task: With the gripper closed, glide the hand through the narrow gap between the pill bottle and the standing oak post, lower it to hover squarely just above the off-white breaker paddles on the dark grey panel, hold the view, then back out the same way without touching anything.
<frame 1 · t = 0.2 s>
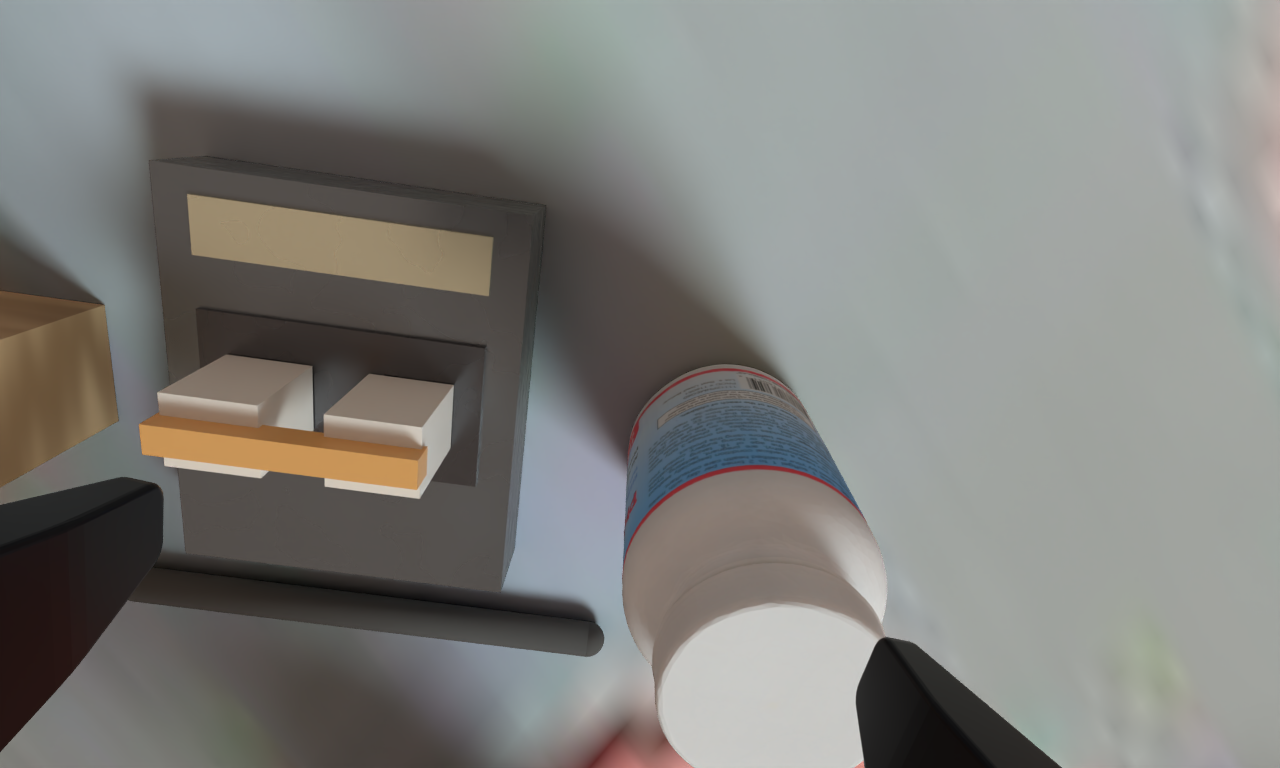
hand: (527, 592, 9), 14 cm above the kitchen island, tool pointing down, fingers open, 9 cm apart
dark gray rod: (372, 601, 26), on the kitchen island
pill bottle: (719, 443, 24), on the kitchen island
breaker paddles: (313, 427, 19), point 5 cm above the kitchen island, hinge at 0.0°
oak post: (48, 356, 23), on the kitchen island
breaker panel: (374, 371, 23), on the kitchen island
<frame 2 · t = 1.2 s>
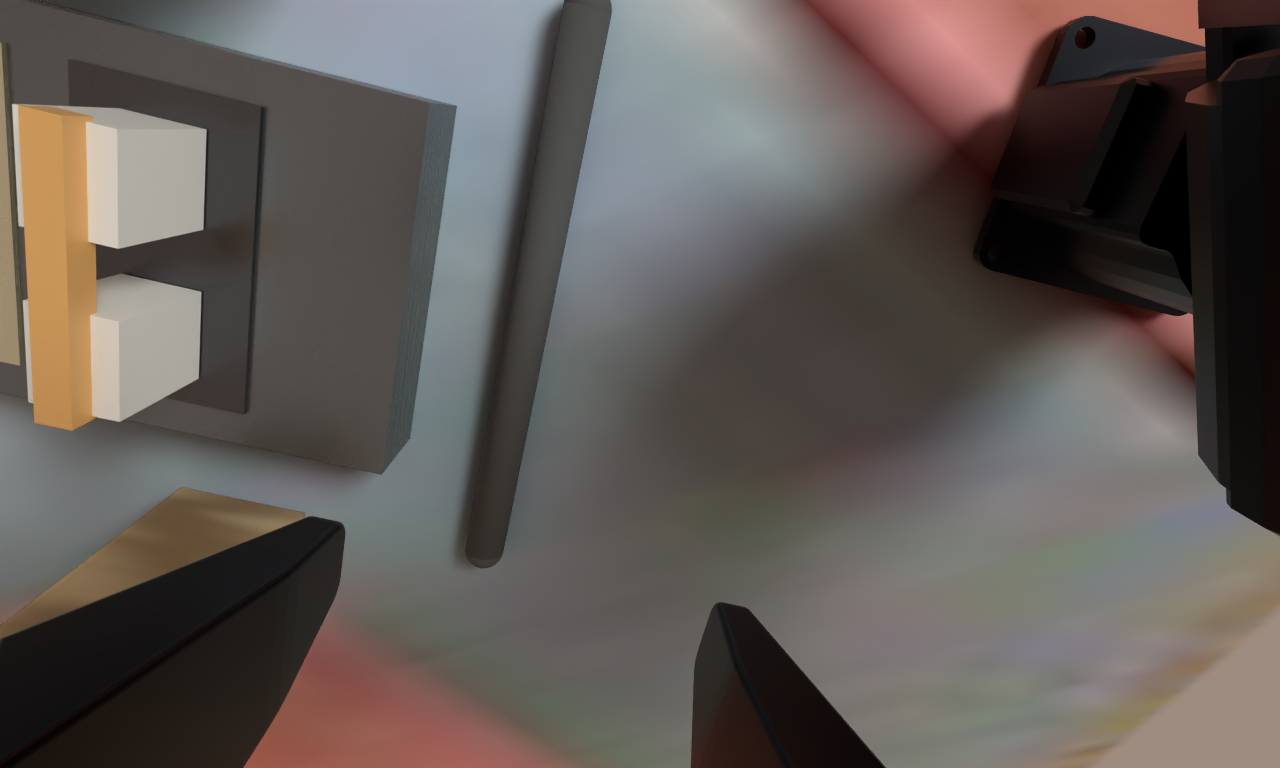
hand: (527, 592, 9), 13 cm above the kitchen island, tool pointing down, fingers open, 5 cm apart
dark gray rod: (532, 309, 21), on the kitchen island
breaker paddles: (110, 264, 16), point 4 cm above the kitchen island, hinge at 0.0°
oak post: (240, 551, 24), on the kitchen island
breaker panel: (222, 236, 20), on the kitchen island
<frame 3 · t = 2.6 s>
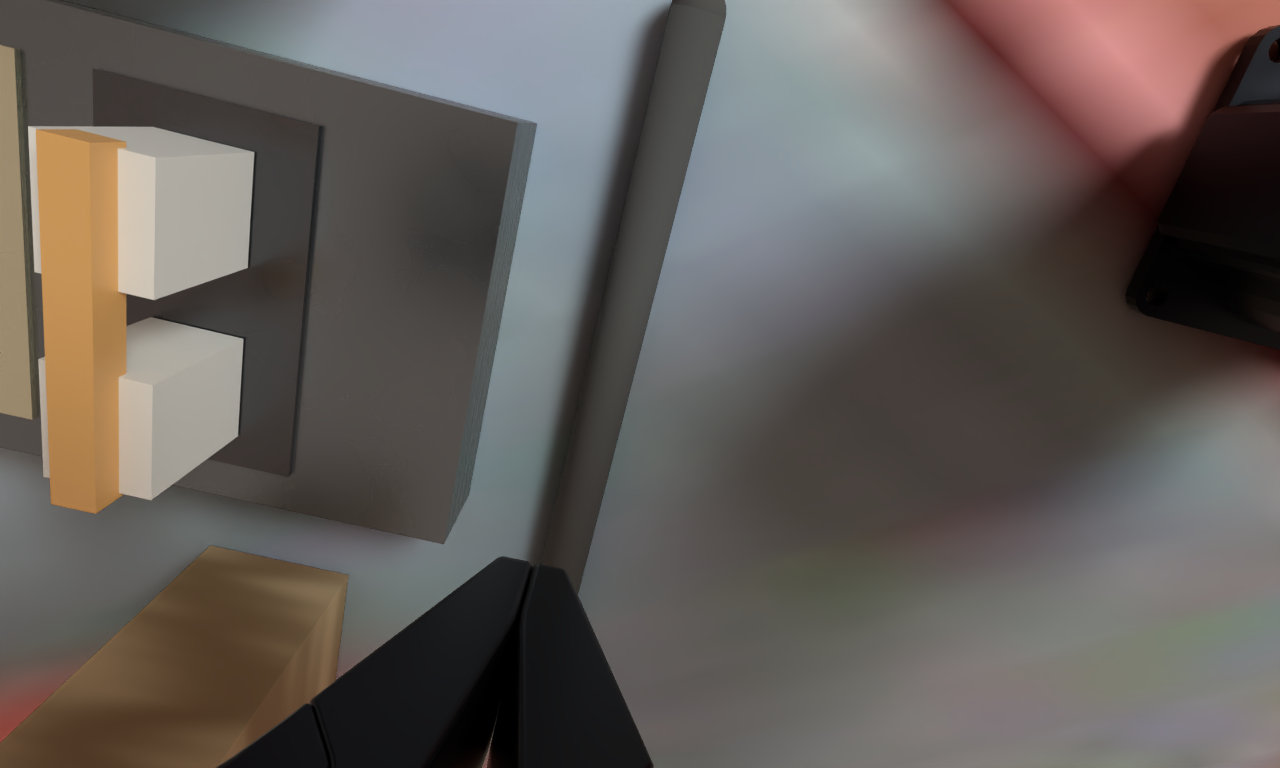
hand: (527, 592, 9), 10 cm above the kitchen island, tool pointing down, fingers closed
dark gray rod: (614, 353, 18), on the kitchen island
breaker paddles: (141, 313, 14), point 5 cm above the kitchen island, hinge at 0.0°
oak post: (275, 615, 21), on the kitchen island
breaker panel: (263, 269, 18), on the kitchen island
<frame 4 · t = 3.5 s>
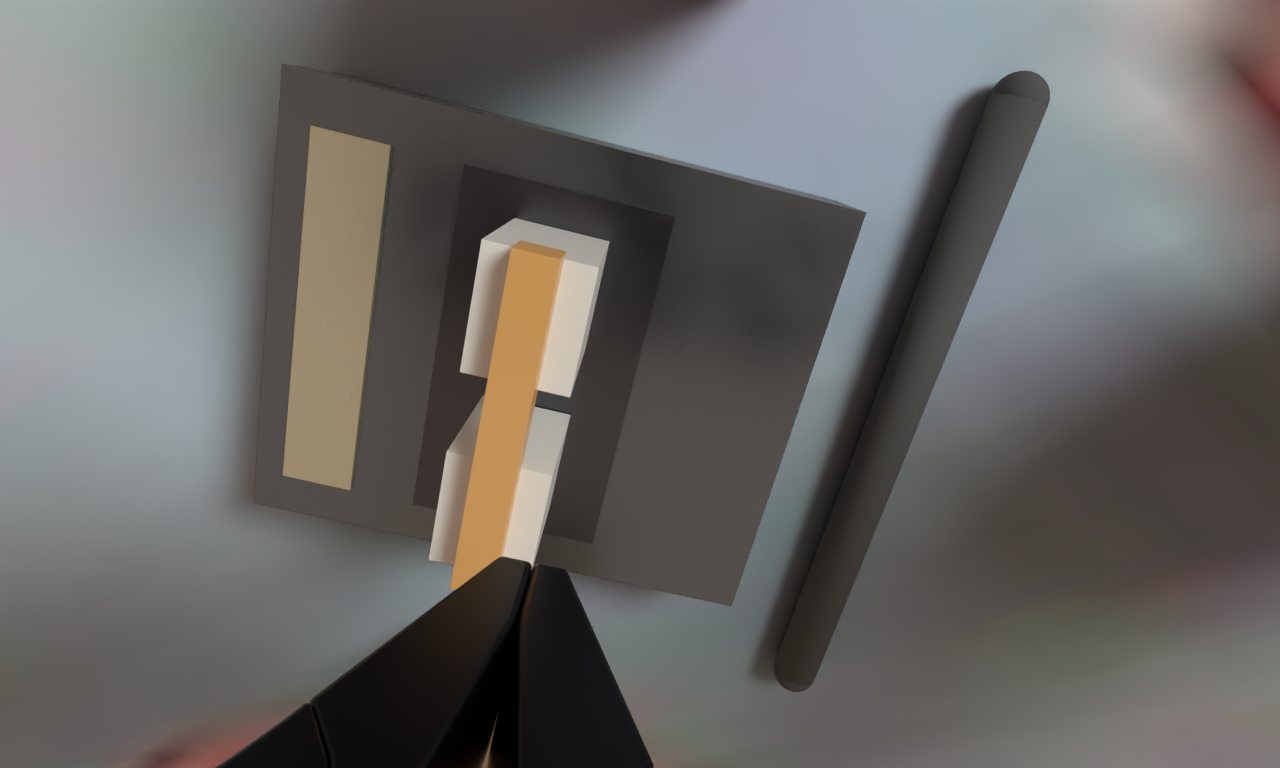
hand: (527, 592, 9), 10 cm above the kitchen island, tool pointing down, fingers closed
dark gray rod: (883, 417, 19), on the kitchen island
breaker paddles: (519, 401, 14), point 4 cm above the kitchen island, hinge at 0.0°
breaker panel: (550, 338, 18), on the kitchen island
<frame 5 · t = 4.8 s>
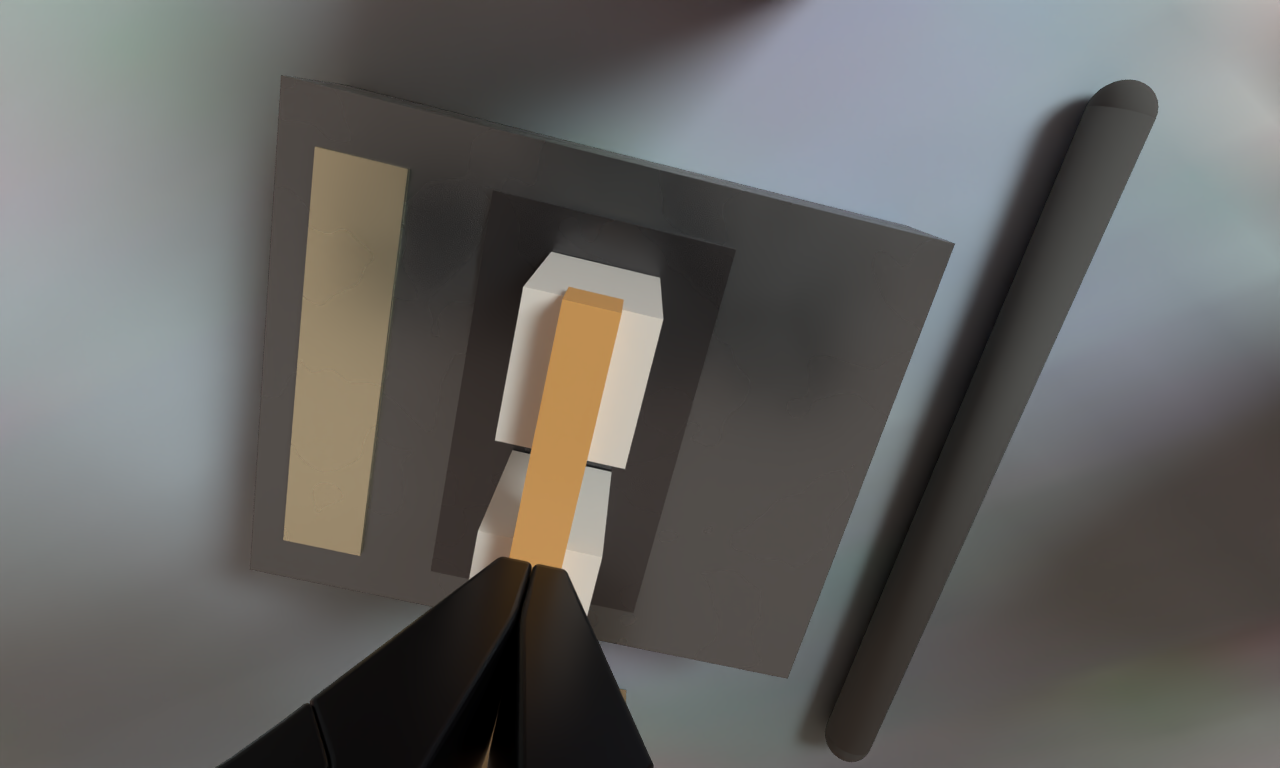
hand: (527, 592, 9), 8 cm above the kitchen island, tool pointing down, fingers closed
dark gray rod: (952, 463, 17), on the kitchen island
breaker paddles: (559, 466, 12), point 5 cm above the kitchen island, hinge at 0.0°
breaker panel: (582, 379, 16), on the kitchen island
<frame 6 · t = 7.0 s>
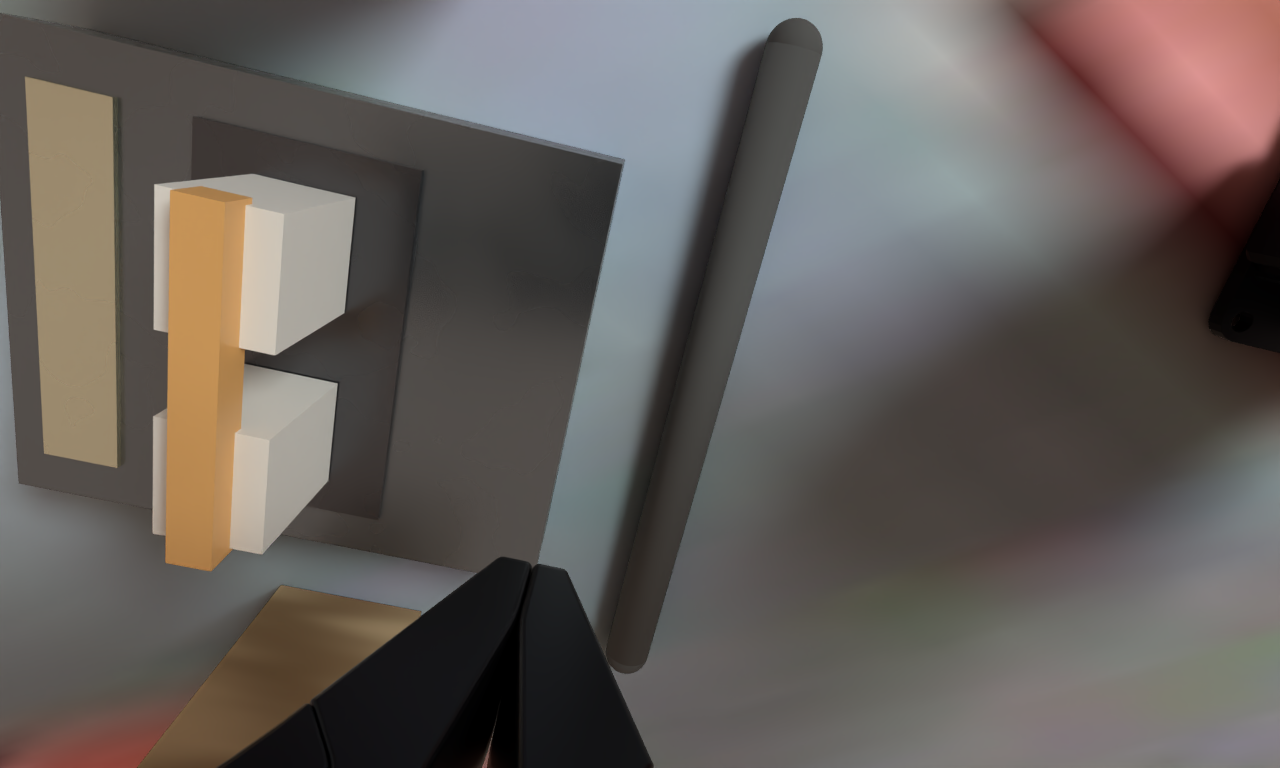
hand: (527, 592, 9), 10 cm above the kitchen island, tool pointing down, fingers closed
dark gray rod: (696, 386, 18), on the kitchen island
breaker paddles: (249, 364, 13), point 5 cm above the kitchen island, hinge at 0.0°
oak post: (345, 653, 21), on the kitchen island
breaker panel: (343, 308, 18), on the kitchen island
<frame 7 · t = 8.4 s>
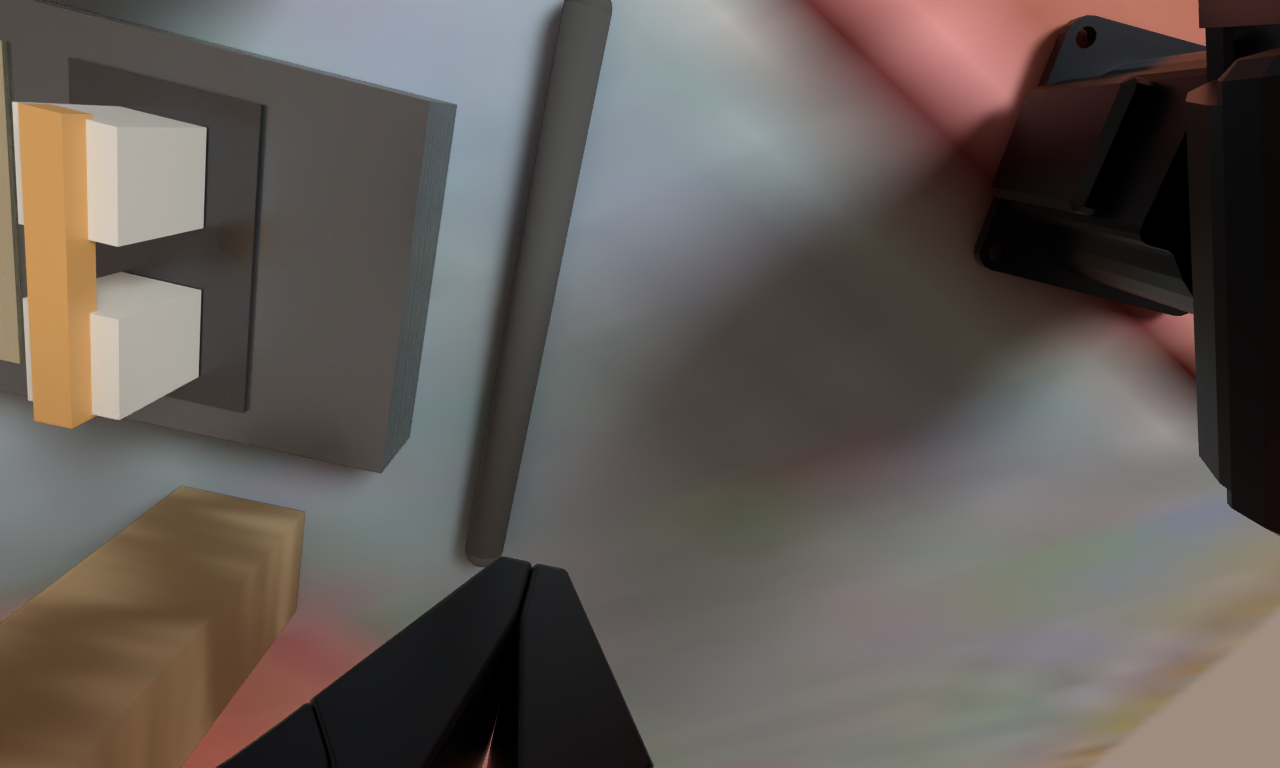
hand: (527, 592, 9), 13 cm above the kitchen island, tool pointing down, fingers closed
dark gray rod: (532, 308, 21), on the kitchen island
breaker paddles: (110, 262, 16), point 5 cm above the kitchen island, hinge at 0.0°
oak post: (240, 550, 24), on the kitchen island
breaker panel: (222, 235, 20), on the kitchen island
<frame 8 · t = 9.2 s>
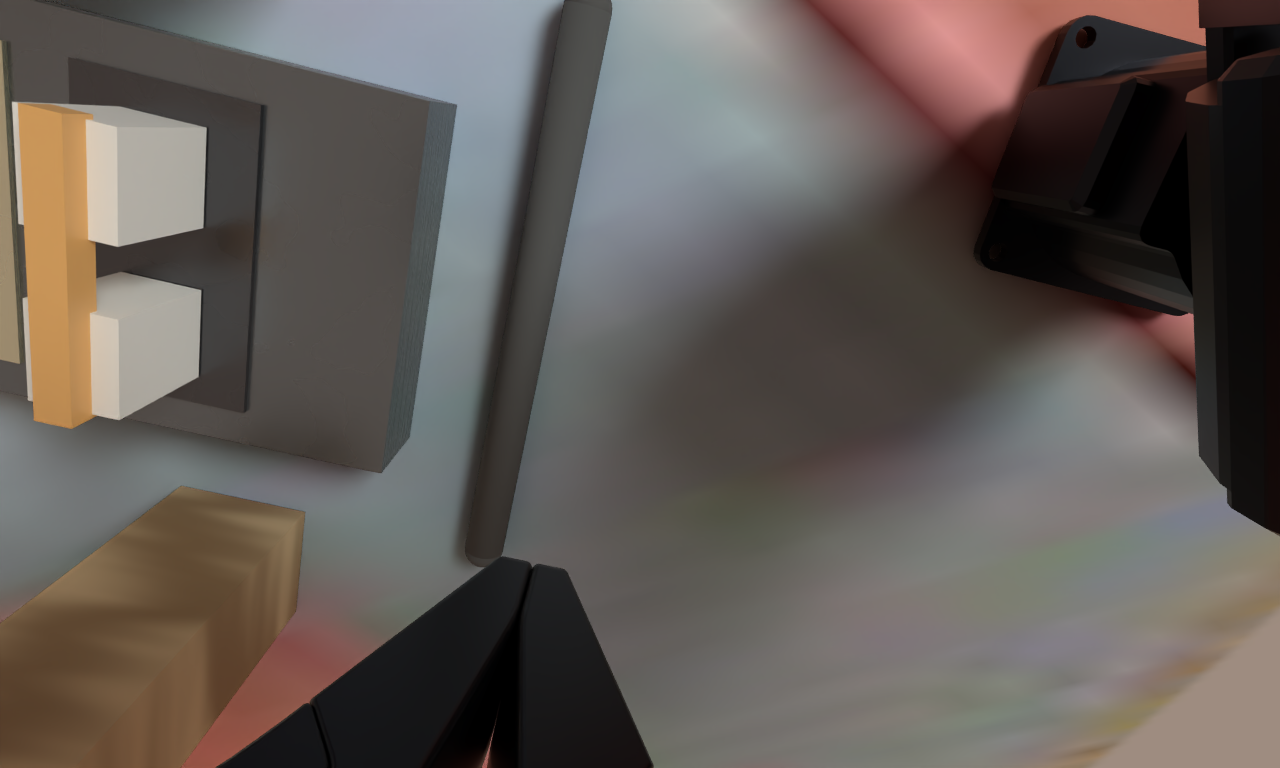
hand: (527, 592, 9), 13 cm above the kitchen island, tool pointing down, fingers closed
dark gray rod: (532, 308, 21), on the kitchen island
breaker paddles: (110, 262, 16), point 5 cm above the kitchen island, hinge at 0.0°
oak post: (240, 550, 24), on the kitchen island
breaker panel: (222, 235, 20), on the kitchen island
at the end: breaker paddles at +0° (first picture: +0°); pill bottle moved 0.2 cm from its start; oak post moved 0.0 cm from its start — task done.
